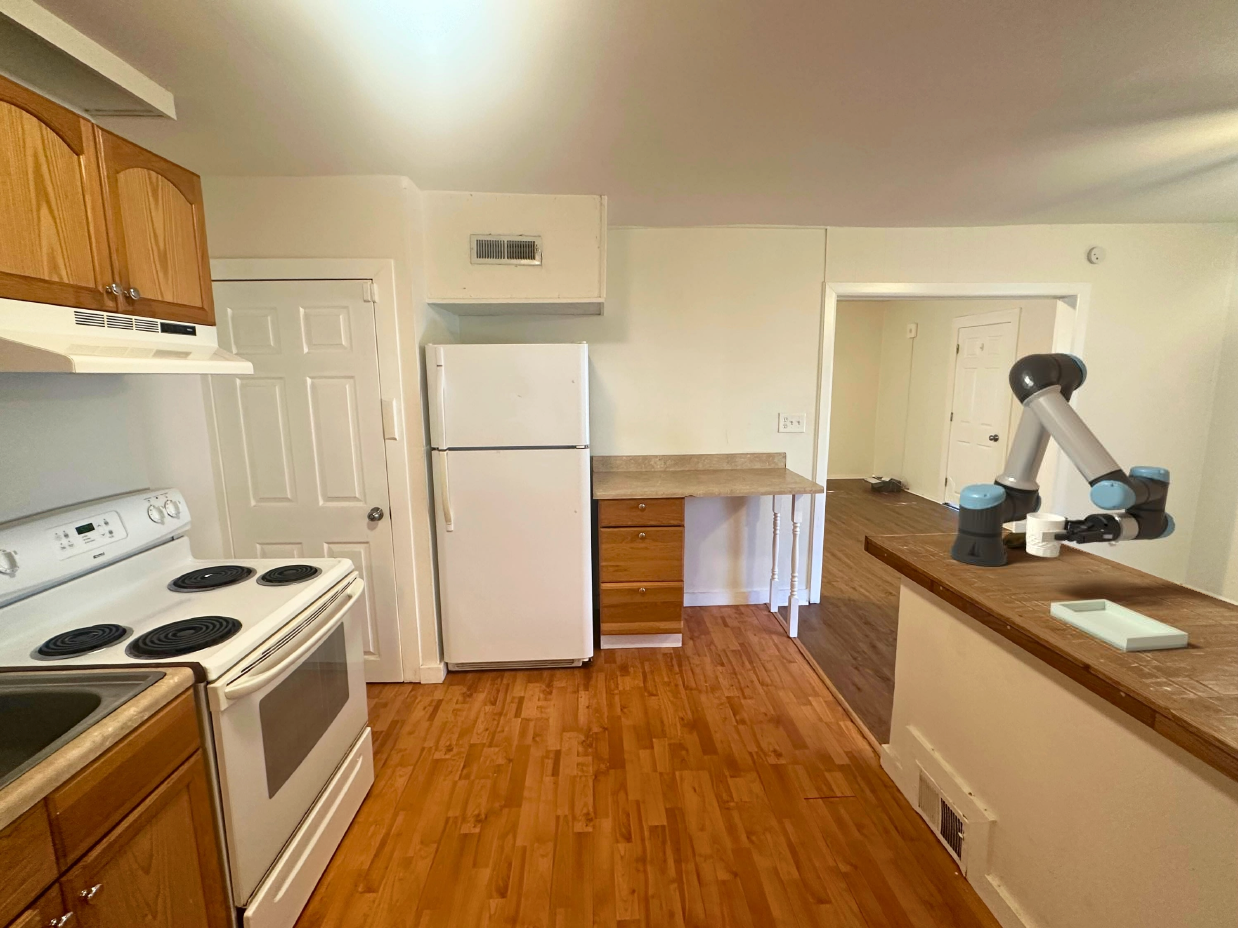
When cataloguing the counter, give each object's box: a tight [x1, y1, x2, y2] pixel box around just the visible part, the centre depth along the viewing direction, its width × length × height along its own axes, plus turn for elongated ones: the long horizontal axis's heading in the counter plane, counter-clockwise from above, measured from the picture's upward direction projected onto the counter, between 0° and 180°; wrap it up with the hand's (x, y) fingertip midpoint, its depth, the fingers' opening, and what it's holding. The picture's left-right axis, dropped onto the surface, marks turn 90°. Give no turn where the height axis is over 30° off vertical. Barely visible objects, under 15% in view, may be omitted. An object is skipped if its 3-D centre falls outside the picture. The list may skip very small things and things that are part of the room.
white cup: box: [1025, 512, 1066, 558], centre depth 137 cm, size 8×8×10 cm
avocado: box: [1002, 531, 1026, 549], centre depth 176 cm, size 8×13×8 cm, turn 76°
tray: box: [1049, 598, 1189, 653], centre depth 120 cm, size 18×14×3 cm
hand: (1026, 532), depth 136 cm, fingers closed on white cup, 8 cm apart
